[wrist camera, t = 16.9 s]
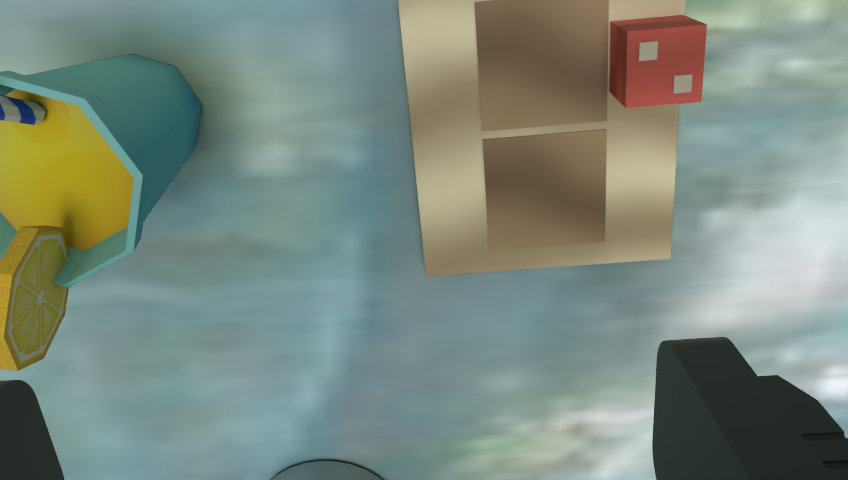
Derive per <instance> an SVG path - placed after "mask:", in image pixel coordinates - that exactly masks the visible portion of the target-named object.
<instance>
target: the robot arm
mask: <svg viewBox="0 0 848 480" xmlns="http://www.w3.org/2000/svg"><path fill="white" fill-rule="evenodd" d="M653 461H654V468H655V474H656V479H657V480H848V438H845V436H844V431H843V430H842V429H841V428H840V426H839V425H838V424H837V423H836V422H835V420H834V419H833V418H832V417H831V416H830V415H829V413H828V412H827V411H826V410H825V409H824V407H823V406H822V405H821V404H820V403H819V402H818V400H816V399H815V398H813V397H811V396H810V395H808V394H807V393H805V392H803V391H802V390H800V389H799V388H797V387H795V386H794V385H792V384H791V383H789V382H787V381H786V380H784V379H783V378H781V377H779V376H778V375H773V376H757V375H756V374H755V372H754V371H753V370H752V368H751V367H750V366H749V364H748V363H747V362H746V360H745V359H744V358H743V356H742V355H741V354H740V352H739V351H738V350H737V348H736V347H735V346H734V344H733V343H732V342H731V341H730V340H729V339H728V338H726V337H714V338H699V339H683V340H667V341H662V342H661V344H660V346H659V349H658V354H657V368H656V387H655V405H654V424H653ZM0 480H64V476H63V472H62V469H61V466H60V464H59V461H58V458H57V455H56V452H55V449H54V446H53V443H52V441H51V438H50V435H49V432H48V429H47V426H46V423H45V420H44V418H43V415H42V412H41V409H40V406H39V403H38V400H37V397H36V395H35V393H34V391H33V389H32V388H31V387H30V386H29V385H28V384H27V383H26V382H24V381H21V380H8V381H0ZM272 480H382V479H381V478H379V477H378V476H376V475H374V474H373V473H371V472H369V471H367V470H365V469H363V468H360V467H357V466H354V465H352V464H347V463H341V462H336V461H316V462H309V463H303V464H300V465H297V466H294V467H291V468H288V469H287V470H285V471H283V472H281V473H280V474H278V475H276V476H275V477H274V478H273V479H272Z"/></svg>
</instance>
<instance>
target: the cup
mask: <svg viewBox="0 0 848 480" xmlns="http://www.w3.org/2000/svg"><path fill="white" fill-rule="evenodd" d="M201 109H202V104H201V102H200V101H199V99H198V98H197V96H196V95H195V93H194V92H193V91H192V89H191V88H190V86H189V85H188V83H187V82H186V80H185V79H184V78H183V76H182V75H181V73H180V72H179V70H178V69H177V67H176V66H173V65H169V64H165V63H162V62H158V61H155V60H151V59H148V58H144V57H141V56H137V55H133V54H129V55H124V56H119V57H114V58H109V59H105V60H100V61H95V62H90V63H85V64H80V65H75V66H70V67H65V68H60V69H56V70H51V71H46V72H41V73H36V74H31V75H22V74H18V73H15V72H11V71H3V72H0V369H8V370H16V371H19V370H21V369H23V368H25V367H27V366H29V365H31V364H33V363H35V362H37V361H39V360H41V359H43V358H44V357H45V354H46V352H47V350H48V348H49V346H50V344H51V342H52V340H53V338H54V336H55V334H56V332H57V330H58V328H59V325H60V323H61V321H62V319H63V317H64V315H65V310H66V303H67V296H68V289H69V287H71V286H73V285H74V284H76V283H78V282H80V281H82V280H84V279H85V278H87V277H89V276H91V275H93V274H94V273H96V272H98V271H100V270H102V269H103V268H105V267H107V266H109V265H111V264H112V263H114V262H116V261H118V260H120V259H122V258H123V257H125V256H127V255H129V254H131V253H132V252H134V250H135V248H136V246H137V244H138V243H139V241H140V239H141V232H142V224H143V222H144V220H145V219H146V217H147V216H148V214H149V213H150V211H151V210H152V208H153V207H154V206H155V204H156V203H157V201H158V200H159V198H160V197H161V195H162V194H163V192H164V191H165V189H166V188H167V186H168V185H169V184H170V182H171V181H172V179H173V178H174V176H175V175H176V173H177V172H178V170H179V169H180V167H181V166H182V164H183V163H184V162H185V160H186V159H187V157H188V156H189V154H190V153H191V151H192V150H193V148H194V147H195V145H196V142H197V135H198V129H199V122H200V116H201Z"/></svg>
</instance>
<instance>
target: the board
mask: <svg viewBox="0 0 848 480" xmlns="http://www.w3.org/2000/svg"><path fill="white" fill-rule="evenodd" d="M398 5H399V15H400V25H401V35H402V44H403V54H404V64H405V74H406V84H407V94H408V104H409V113H410V123H411V133H412V143H413V153H414V163H415V173H416V182H417V192H418V202H419V212H420V222H421V232H422V242H423V252H424V261H425V271H426V277H427V276H440V275H454V274H468V273H482V272H495V271H509V270H523V269H537V268H550V267H564V266H578V265H592V264H606V263H619V262H633V261H647V260H661V259H670V257H671V240H672V223H673V206H674V188H675V171H676V154H677V136H678V119H679V104H680V103H692V102H701V98H702V84H703V69H704V55H705V41H706V27H707V24H704V23H702V22H699V21H697V20H694V19H692V18H689V17H686V16H685V0H398Z"/></svg>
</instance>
